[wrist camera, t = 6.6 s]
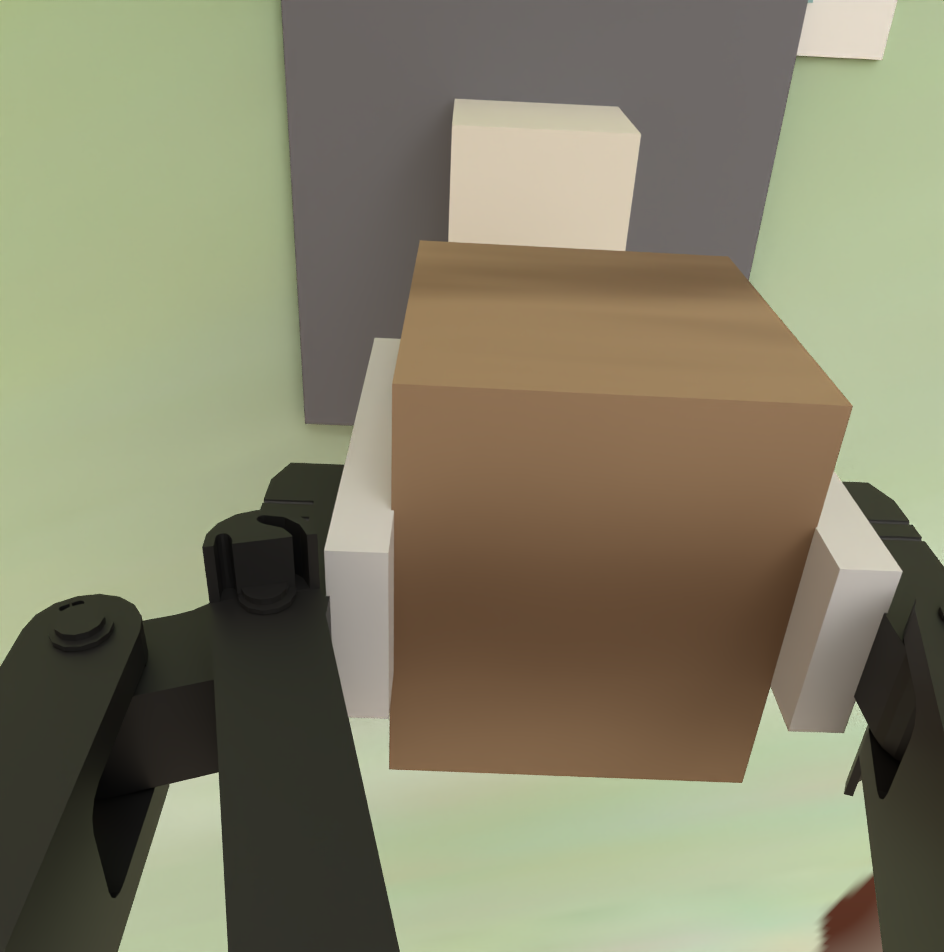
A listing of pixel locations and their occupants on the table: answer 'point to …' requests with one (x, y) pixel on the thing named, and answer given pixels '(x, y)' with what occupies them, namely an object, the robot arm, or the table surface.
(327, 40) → the mat
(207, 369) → the table surface
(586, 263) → the walnut brick
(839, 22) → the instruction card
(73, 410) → the table surface
